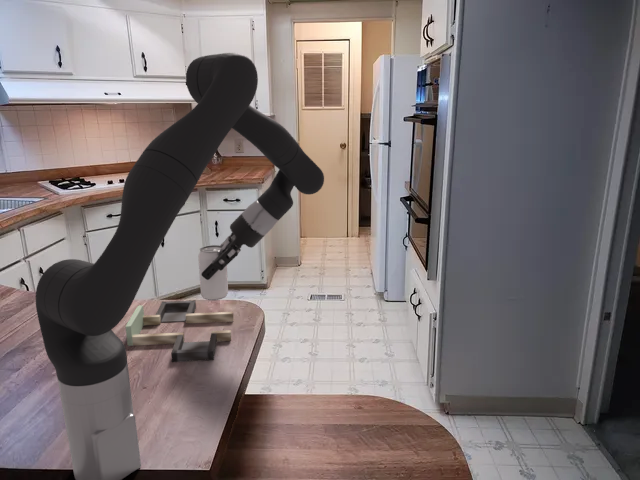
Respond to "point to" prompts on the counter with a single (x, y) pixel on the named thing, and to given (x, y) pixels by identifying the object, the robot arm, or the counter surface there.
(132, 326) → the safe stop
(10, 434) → the counter surface
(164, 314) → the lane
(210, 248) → the can
